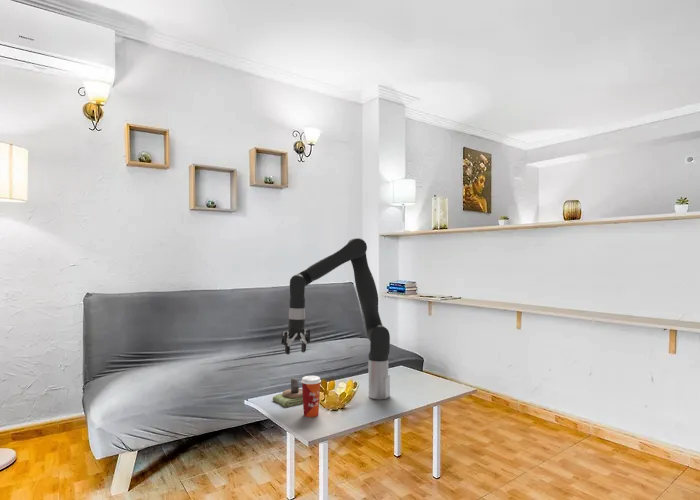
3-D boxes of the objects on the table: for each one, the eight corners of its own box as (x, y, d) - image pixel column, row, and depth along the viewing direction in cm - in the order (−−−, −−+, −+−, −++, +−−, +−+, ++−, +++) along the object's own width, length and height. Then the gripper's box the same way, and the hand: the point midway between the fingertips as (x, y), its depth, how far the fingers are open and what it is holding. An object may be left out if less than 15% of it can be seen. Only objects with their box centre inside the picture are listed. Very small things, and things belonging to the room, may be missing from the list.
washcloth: (319, 400, 191) (319, 393, 191) (285, 409, 180) (285, 401, 180) (303, 393, 201) (303, 387, 201) (270, 401, 190) (270, 394, 190)
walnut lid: (311, 392, 193) (311, 377, 193) (298, 399, 183) (298, 383, 183) (291, 389, 198) (291, 374, 198) (277, 396, 188) (277, 380, 188)
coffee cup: (313, 419, 166) (313, 381, 167) (296, 415, 170) (297, 378, 171) (325, 413, 173) (325, 376, 174) (309, 409, 178) (309, 374, 178)
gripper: (288, 319, 185) (286, 356, 184) (314, 317, 194) (312, 352, 194) (279, 317, 190) (277, 353, 190) (304, 316, 200) (303, 350, 199)
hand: (295, 353), depth 192 cm, fingers open, 8 cm apart
